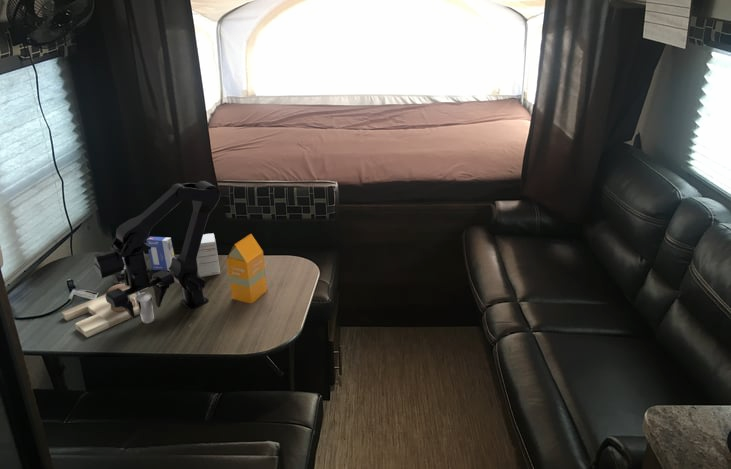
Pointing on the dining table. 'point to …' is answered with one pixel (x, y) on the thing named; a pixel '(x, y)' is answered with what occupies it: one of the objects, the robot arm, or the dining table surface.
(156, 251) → the walkman
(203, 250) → the supplement box
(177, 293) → the dining table surface
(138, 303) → the milkshake
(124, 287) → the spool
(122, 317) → the board
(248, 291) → the orange juice
